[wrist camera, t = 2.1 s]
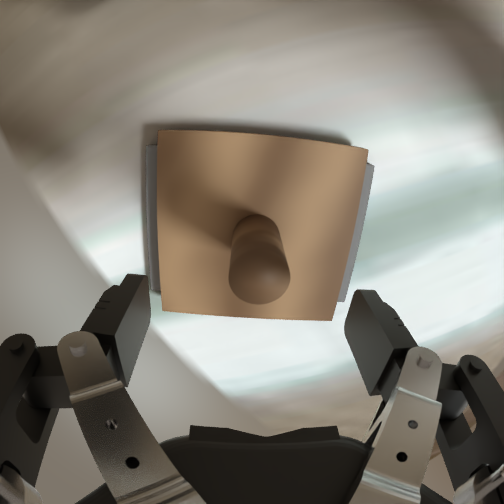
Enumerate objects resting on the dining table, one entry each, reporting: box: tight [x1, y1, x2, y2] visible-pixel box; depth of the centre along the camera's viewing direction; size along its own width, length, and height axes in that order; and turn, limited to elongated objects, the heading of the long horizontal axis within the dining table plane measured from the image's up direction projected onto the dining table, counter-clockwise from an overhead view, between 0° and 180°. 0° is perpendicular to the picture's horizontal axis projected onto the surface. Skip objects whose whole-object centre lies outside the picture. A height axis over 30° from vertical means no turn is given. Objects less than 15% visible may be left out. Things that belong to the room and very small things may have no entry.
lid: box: [157, 130, 368, 321], centre depth 17 cm, size 12×12×6 cm
